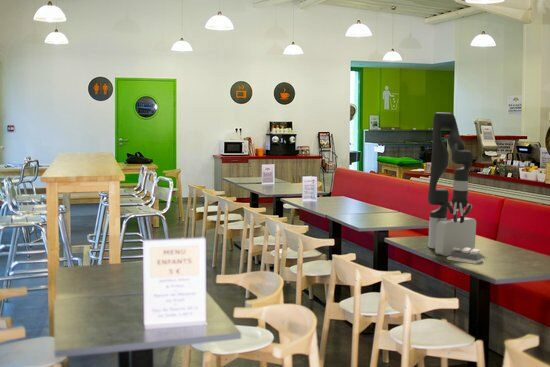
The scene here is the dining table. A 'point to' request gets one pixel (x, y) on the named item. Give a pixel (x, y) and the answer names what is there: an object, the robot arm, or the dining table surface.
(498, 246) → the dining table surface
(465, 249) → the rocker
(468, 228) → the rounded white slab
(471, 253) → the rocker
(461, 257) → the switch unit
